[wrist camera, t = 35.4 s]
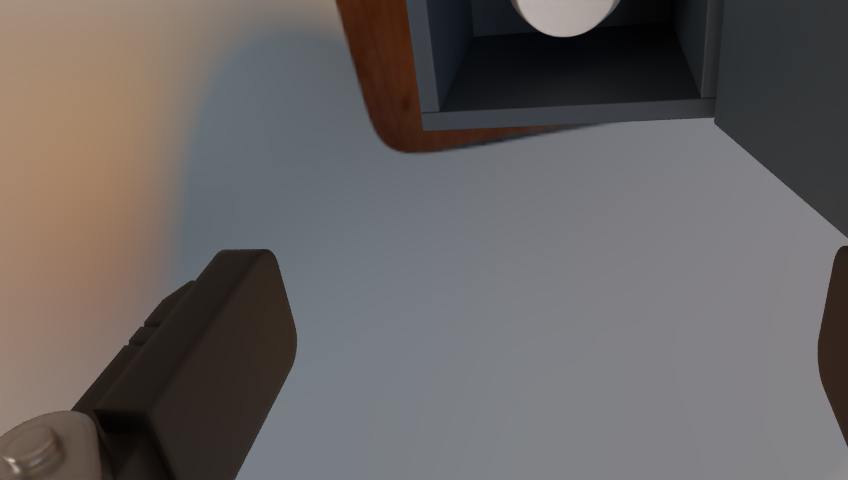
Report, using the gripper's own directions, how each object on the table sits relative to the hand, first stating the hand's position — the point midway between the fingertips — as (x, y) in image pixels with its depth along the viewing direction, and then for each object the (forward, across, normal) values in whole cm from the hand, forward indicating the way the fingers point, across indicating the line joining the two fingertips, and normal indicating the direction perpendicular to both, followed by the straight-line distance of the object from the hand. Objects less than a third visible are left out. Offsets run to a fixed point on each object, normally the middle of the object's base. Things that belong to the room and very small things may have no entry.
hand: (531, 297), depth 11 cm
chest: (+30, 0, 0) cm, 30 cm away
